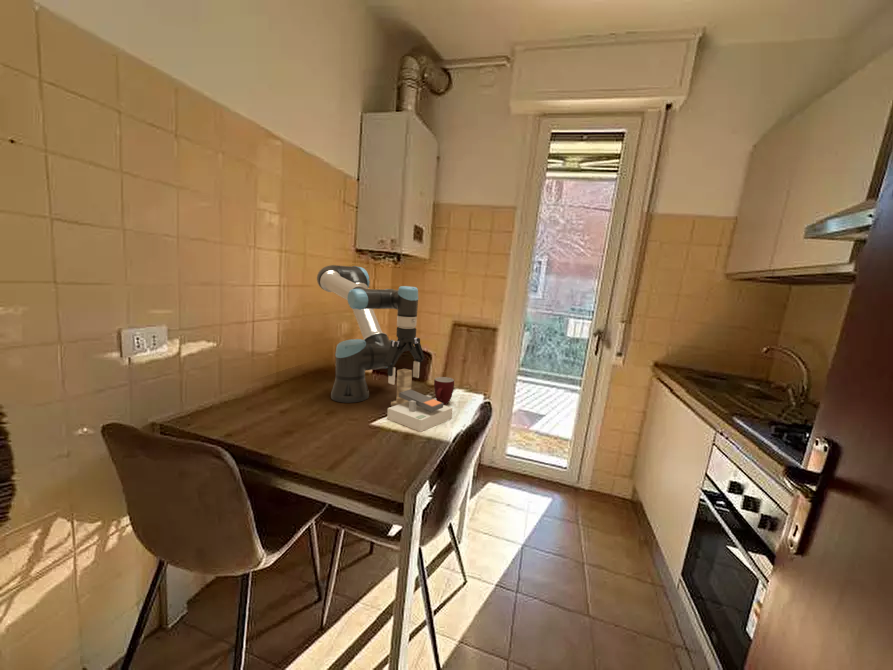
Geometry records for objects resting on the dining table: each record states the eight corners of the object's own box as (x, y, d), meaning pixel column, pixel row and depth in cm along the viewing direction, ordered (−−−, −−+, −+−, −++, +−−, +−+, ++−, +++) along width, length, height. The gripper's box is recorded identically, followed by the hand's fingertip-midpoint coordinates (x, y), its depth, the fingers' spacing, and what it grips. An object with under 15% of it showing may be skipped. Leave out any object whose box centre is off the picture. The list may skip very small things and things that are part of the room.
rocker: (398, 396, 138) (399, 392, 137) (410, 393, 142) (410, 388, 142) (432, 411, 128) (432, 407, 128) (443, 407, 133) (443, 403, 133)
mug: (449, 409, 147) (451, 385, 145) (429, 407, 149) (430, 382, 147) (454, 401, 157) (455, 378, 156) (435, 399, 159) (436, 376, 157)
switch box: (387, 418, 134) (387, 398, 133) (419, 407, 148) (420, 388, 147) (420, 431, 125) (421, 410, 124) (451, 418, 138) (453, 398, 137)
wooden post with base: (390, 405, 149) (391, 370, 147) (403, 400, 154) (404, 367, 152) (403, 409, 145) (405, 373, 143) (415, 405, 150) (417, 370, 148)
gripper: (389, 331, 133) (387, 389, 136) (434, 325, 152) (431, 376, 156) (375, 328, 137) (373, 384, 141) (421, 323, 157) (418, 372, 160)
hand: (404, 380), depth 148 cm, fingers open, 13 cm apart
